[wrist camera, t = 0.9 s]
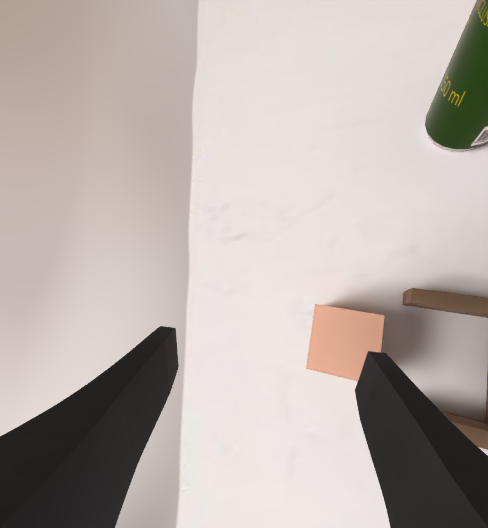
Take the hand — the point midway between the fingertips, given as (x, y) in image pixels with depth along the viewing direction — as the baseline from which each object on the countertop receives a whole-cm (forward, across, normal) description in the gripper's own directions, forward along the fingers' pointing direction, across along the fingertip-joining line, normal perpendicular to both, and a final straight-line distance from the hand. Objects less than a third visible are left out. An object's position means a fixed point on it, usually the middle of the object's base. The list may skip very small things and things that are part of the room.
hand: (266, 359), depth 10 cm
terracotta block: (+10, -6, +7) cm, 14 cm away
